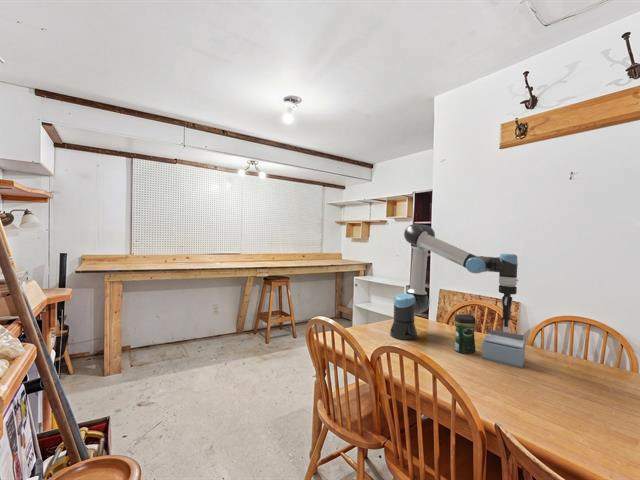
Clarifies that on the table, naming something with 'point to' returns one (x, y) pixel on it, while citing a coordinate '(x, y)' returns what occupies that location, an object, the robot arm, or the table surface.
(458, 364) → the table surface
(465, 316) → the coffee jar
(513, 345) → the lid
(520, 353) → the box
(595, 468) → the table surface
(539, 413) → the table surface
